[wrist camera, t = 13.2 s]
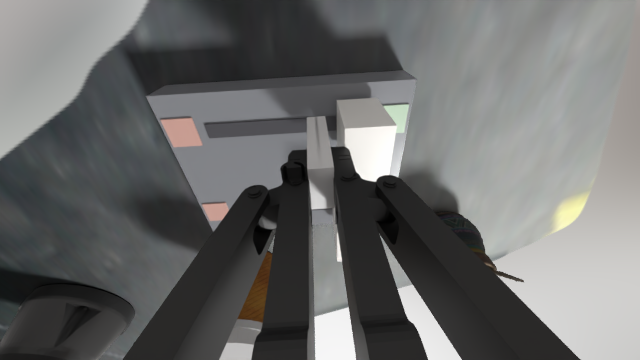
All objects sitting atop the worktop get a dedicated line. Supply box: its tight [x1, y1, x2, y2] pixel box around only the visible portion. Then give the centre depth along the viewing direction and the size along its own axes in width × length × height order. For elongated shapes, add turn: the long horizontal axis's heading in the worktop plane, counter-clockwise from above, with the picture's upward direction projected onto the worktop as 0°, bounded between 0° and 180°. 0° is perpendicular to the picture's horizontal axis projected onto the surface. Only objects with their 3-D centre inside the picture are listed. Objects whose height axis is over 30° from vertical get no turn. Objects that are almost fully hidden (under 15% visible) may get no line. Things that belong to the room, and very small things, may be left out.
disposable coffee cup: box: [219, 251, 272, 360], centre depth 30 cm, size 10×10×12 cm
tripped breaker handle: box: [337, 98, 397, 182], centre depth 16 cm, size 3×4×5 cm
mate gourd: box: [436, 212, 524, 282], centre depth 27 cm, size 7×8×10 cm
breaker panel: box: [146, 70, 417, 231], centre depth 23 cm, size 20×15×3 cm
